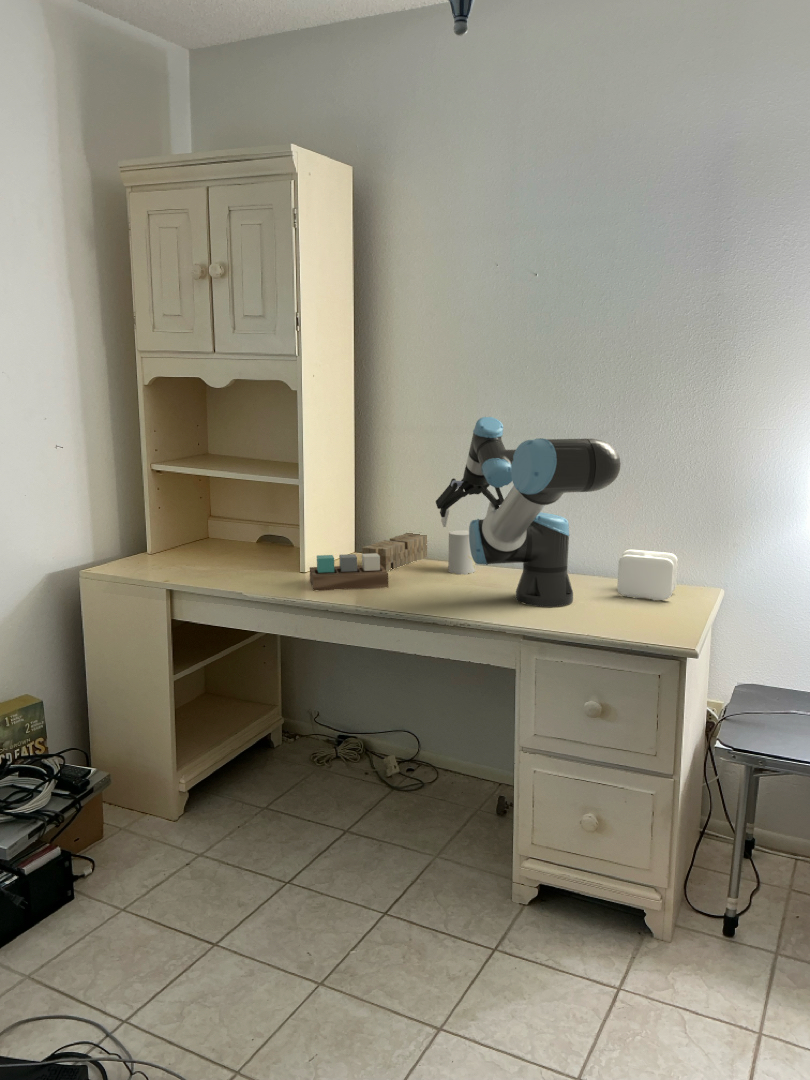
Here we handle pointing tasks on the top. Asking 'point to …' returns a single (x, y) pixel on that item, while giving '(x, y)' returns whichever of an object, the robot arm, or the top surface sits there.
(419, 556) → the block tower
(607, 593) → the top surface
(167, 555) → the top surface
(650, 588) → the cable organizer
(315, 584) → the keypad base
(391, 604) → the top surface
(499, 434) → the robot arm
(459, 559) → the white upright cylinder
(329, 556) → the key teal
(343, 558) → the key slate
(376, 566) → the key ivory
